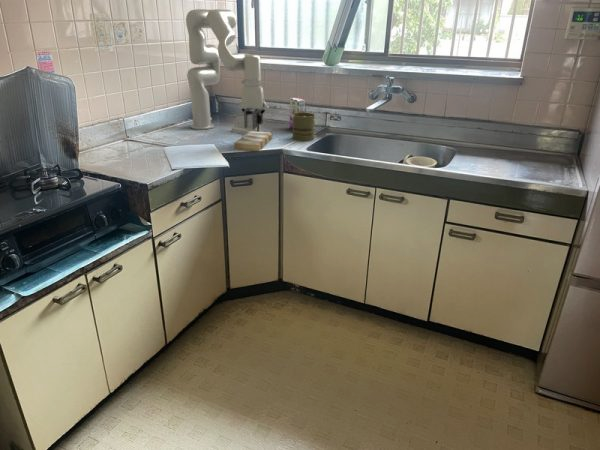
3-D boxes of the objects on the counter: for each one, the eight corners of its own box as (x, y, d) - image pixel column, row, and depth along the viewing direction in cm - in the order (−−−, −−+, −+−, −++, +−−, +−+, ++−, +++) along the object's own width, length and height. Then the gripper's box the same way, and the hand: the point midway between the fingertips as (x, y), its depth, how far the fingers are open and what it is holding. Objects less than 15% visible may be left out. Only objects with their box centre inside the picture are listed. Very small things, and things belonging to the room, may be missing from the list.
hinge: (230, 131, 240) (234, 112, 238) (236, 132, 243) (240, 114, 242) (253, 136, 230) (257, 117, 229) (259, 137, 234) (263, 118, 233)
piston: (291, 116, 219) (293, 112, 229) (291, 140, 224) (293, 135, 234) (314, 117, 218) (315, 112, 228) (313, 141, 223) (315, 136, 233)
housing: (244, 128, 207) (243, 110, 204) (253, 122, 220) (252, 105, 216) (254, 128, 207) (254, 111, 203) (263, 122, 219) (262, 106, 216)
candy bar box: (305, 131, 242) (306, 100, 235) (297, 132, 240) (297, 101, 233) (297, 127, 251) (297, 97, 244) (289, 127, 249) (289, 97, 242)
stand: (250, 137, 229) (249, 130, 227) (272, 138, 227) (272, 132, 225) (234, 149, 207) (234, 142, 206) (259, 151, 205) (259, 144, 204)
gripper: (232, 83, 203) (234, 123, 211) (268, 85, 200) (269, 125, 208) (237, 81, 210) (239, 120, 218) (272, 83, 207) (273, 122, 214)
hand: (253, 122), depth 213 cm, fingers closed on housing, 5 cm apart
